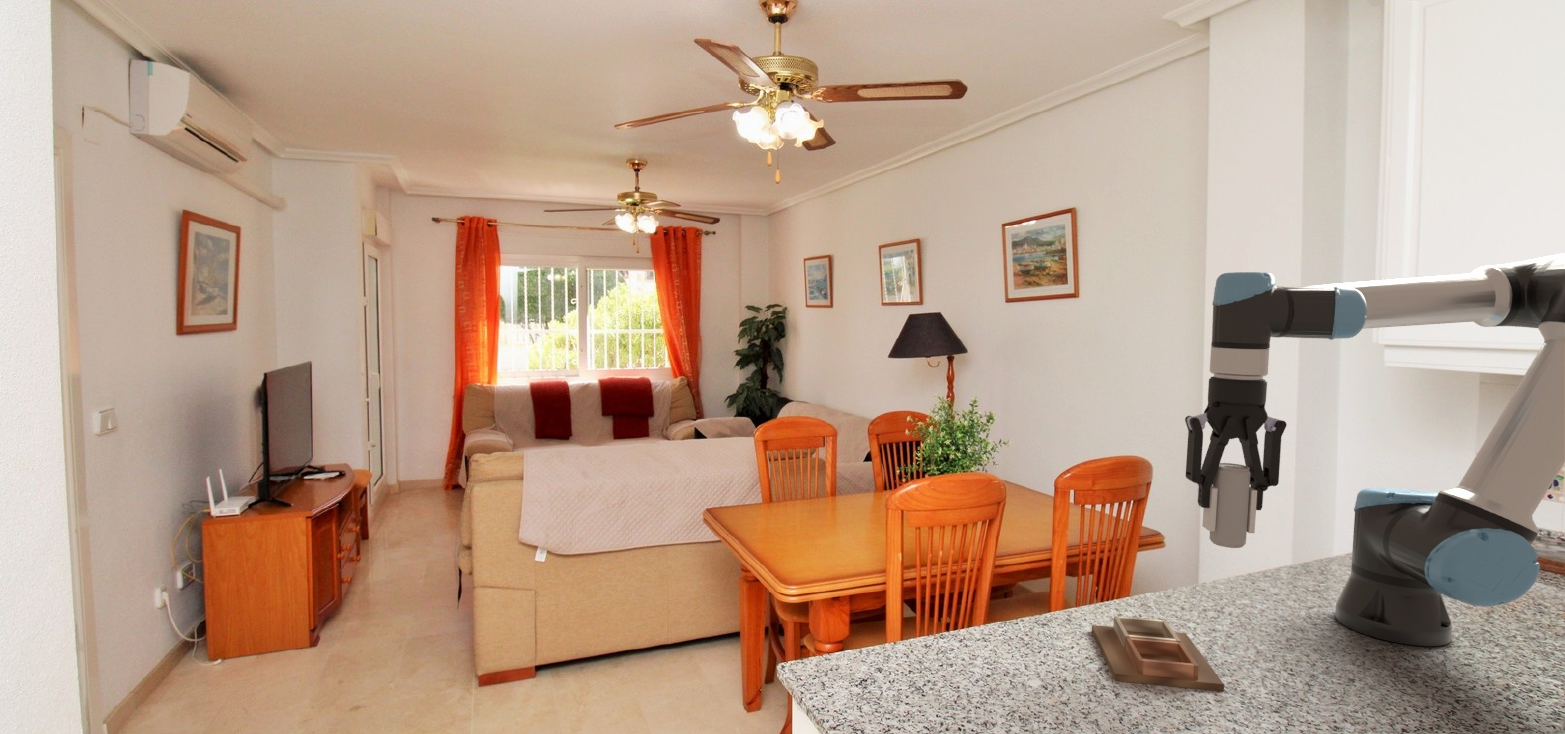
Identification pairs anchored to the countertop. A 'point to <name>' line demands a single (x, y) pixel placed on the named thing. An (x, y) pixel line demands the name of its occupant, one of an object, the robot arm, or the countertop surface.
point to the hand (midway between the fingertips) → (1228, 529)
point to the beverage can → (1231, 505)
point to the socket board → (1154, 655)
